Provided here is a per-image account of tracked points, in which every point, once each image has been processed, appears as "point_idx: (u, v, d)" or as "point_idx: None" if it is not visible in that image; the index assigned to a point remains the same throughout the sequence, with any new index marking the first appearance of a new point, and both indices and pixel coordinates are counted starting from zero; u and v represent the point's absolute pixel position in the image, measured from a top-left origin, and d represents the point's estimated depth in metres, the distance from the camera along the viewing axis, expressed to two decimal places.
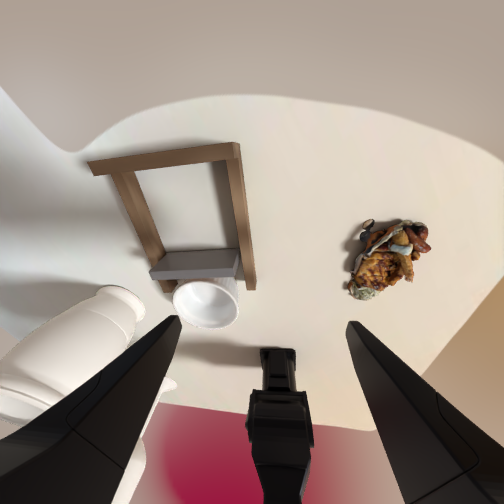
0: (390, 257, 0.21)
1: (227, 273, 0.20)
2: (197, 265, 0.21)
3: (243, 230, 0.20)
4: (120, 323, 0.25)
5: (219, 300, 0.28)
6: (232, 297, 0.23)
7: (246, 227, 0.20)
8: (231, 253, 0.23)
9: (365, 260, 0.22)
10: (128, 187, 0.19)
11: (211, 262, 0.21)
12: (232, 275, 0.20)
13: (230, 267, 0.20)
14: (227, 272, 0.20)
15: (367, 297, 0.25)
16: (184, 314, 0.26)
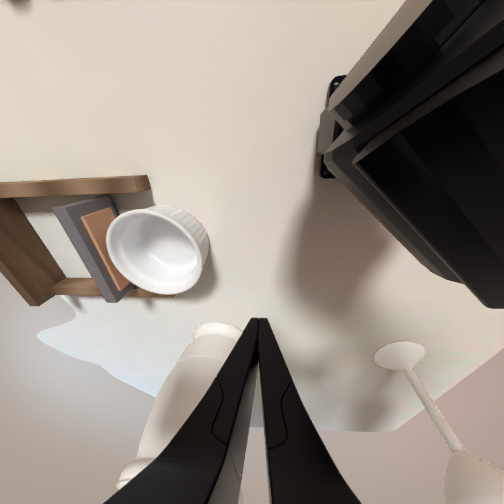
0: None
1: (64, 217, 0.15)
2: None
3: (45, 187, 0.16)
4: (194, 353, 0.21)
5: None
6: (120, 216, 0.15)
7: (40, 183, 0.16)
8: None
9: None
10: (63, 286, 0.23)
11: None
12: (64, 210, 0.14)
13: (55, 210, 0.15)
14: (62, 216, 0.15)
15: None
16: (182, 286, 0.19)
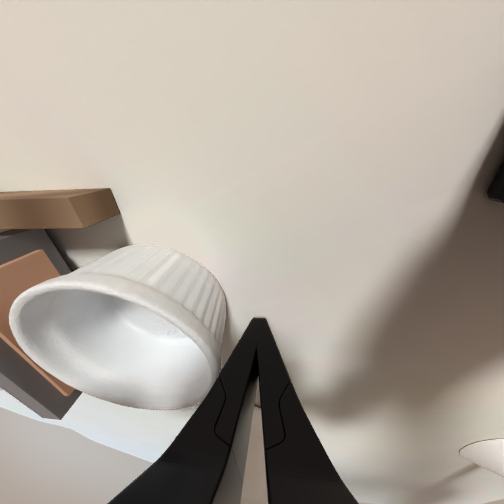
0: None
1: None
2: None
3: None
4: None
5: None
6: (29, 292, 0.06)
7: None
8: None
9: None
10: None
11: None
12: None
13: None
14: None
15: None
16: (178, 396, 0.10)
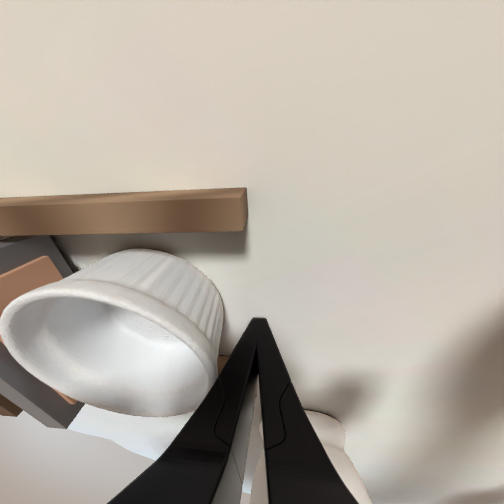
0: None
1: None
2: None
3: (18, 217, 0.07)
4: None
5: None
6: (18, 300, 0.06)
7: (6, 208, 0.07)
8: None
9: None
10: None
11: None
12: None
13: None
14: None
15: None
16: (176, 402, 0.10)
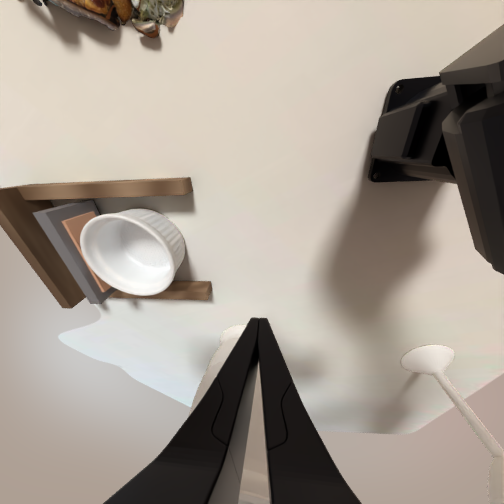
0: None
1: (45, 221, 0.15)
2: None
3: (89, 189, 0.16)
4: None
5: None
6: (91, 220, 0.15)
7: (84, 185, 0.16)
8: None
9: None
10: None
11: None
12: (44, 215, 0.15)
13: (36, 215, 0.15)
14: (43, 221, 0.15)
15: None
16: (158, 287, 0.19)
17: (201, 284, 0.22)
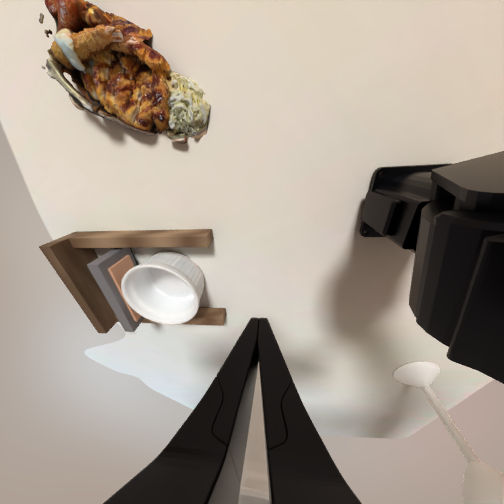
0: (95, 70, 0.13)
1: (96, 270, 0.18)
2: None
3: (129, 241, 0.20)
4: None
5: None
6: (133, 269, 0.19)
7: (125, 238, 0.20)
8: None
9: (113, 113, 0.15)
10: None
11: None
12: (96, 266, 0.18)
13: (89, 266, 0.18)
14: (94, 270, 0.19)
15: (191, 113, 0.15)
16: (183, 317, 0.22)
17: (217, 311, 0.26)
